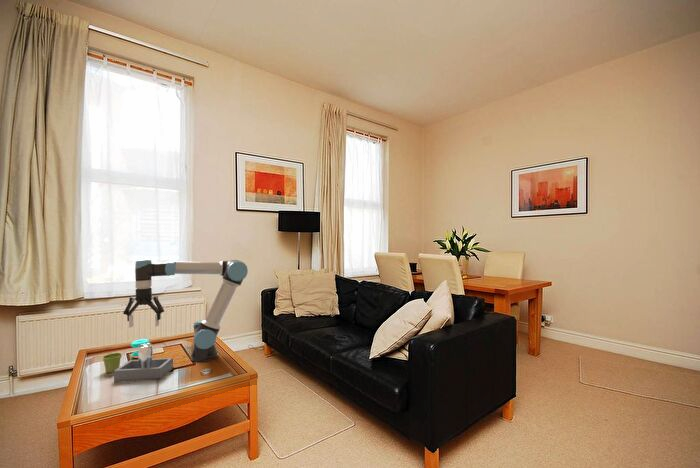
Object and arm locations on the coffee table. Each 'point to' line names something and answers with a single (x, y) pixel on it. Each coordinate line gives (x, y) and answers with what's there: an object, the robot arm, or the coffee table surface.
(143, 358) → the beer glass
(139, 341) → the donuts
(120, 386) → the coffee table surface
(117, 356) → the plant pot
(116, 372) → the open box
